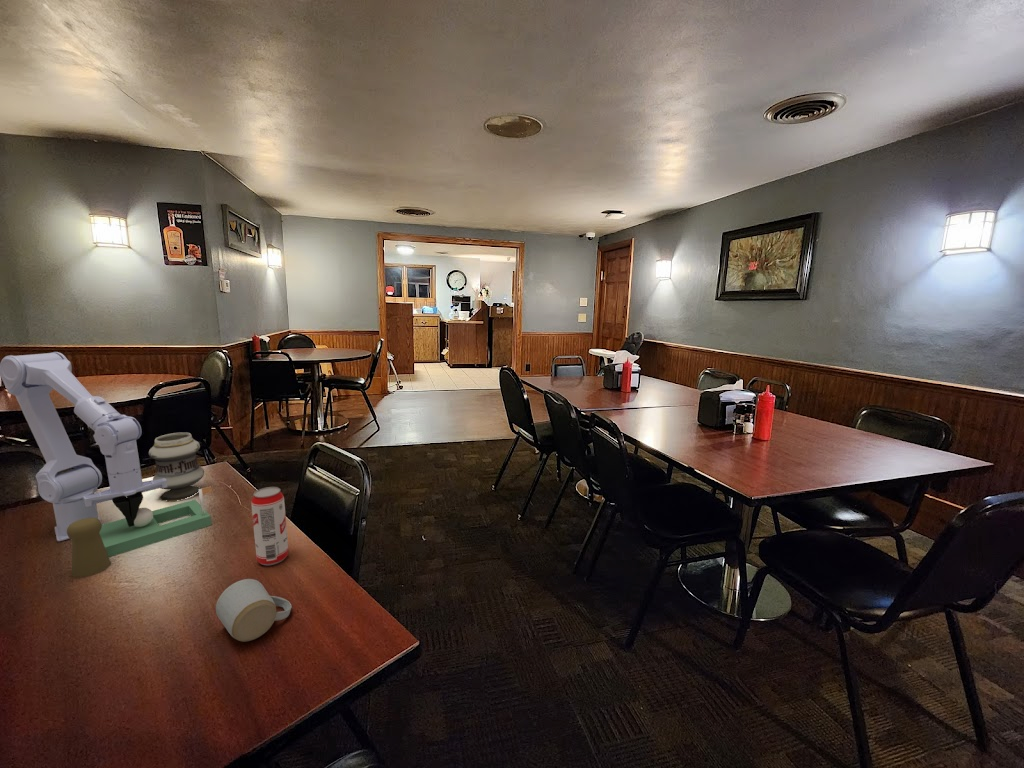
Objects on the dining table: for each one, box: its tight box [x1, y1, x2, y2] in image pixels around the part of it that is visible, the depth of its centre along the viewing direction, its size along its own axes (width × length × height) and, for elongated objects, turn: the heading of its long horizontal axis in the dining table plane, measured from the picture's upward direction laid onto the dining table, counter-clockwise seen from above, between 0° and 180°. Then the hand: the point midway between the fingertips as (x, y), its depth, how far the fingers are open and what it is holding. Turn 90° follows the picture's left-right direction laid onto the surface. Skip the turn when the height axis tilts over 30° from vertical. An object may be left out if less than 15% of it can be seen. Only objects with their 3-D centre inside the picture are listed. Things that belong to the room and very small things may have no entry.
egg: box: [134, 507, 153, 527], centre depth 104 cm, size 4×4×4 cm
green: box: [99, 499, 213, 558], centre depth 106 cm, size 14×21×2 cm, turn 139°
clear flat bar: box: [198, 486, 213, 516], centre depth 110 cm, size 1×3×7 cm, turn 139°
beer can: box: [250, 486, 290, 567], centre depth 94 cm, size 6×6×16 cm
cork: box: [67, 518, 112, 578], centre depth 90 cm, size 6×6×11 cm
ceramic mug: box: [215, 578, 293, 642], centre depth 76 cm, size 11×8×8 cm
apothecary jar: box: [148, 431, 205, 502], centre depth 126 cm, size 12×12×18 cm
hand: (132, 524), depth 103 cm, fingers closed, pressing on egg
